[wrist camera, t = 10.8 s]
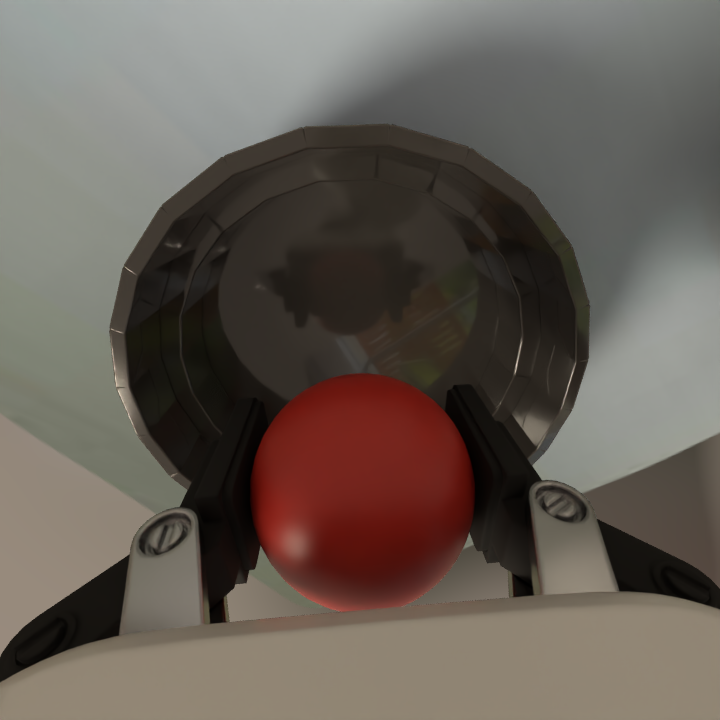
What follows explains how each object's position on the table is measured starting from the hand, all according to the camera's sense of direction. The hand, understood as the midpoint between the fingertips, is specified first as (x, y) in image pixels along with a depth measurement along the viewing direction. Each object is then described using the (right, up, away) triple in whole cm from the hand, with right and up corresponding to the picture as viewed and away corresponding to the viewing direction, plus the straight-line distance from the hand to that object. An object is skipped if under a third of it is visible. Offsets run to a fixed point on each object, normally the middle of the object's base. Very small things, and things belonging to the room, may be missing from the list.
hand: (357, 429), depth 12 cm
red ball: (0, -1, -2) cm, 2 cm away
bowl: (0, +3, +6) cm, 7 cm away
